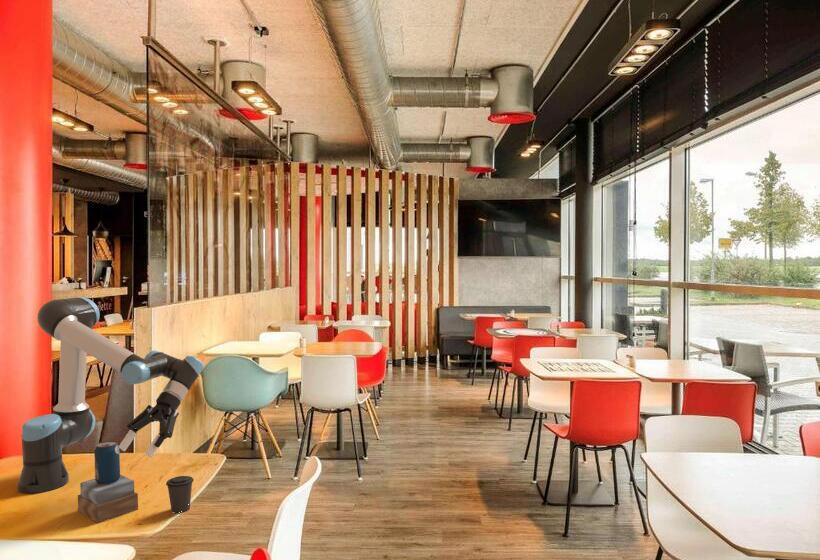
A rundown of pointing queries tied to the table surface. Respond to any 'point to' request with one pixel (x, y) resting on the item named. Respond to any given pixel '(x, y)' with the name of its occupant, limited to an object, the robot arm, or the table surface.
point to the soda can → (107, 463)
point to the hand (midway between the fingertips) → (134, 452)
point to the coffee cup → (180, 493)
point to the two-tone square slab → (107, 499)
